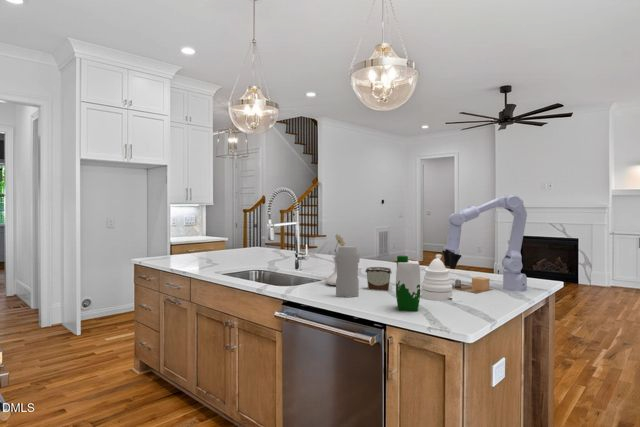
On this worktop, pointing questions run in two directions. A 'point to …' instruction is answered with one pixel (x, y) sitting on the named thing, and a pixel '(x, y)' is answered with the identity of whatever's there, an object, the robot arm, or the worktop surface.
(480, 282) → the tan shipping carton
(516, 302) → the worktop surface
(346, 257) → the tall pale column
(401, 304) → the milk carton
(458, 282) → the small grey jar
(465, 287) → the board
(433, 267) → the honey pot
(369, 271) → the food container
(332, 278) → the flower in vase
